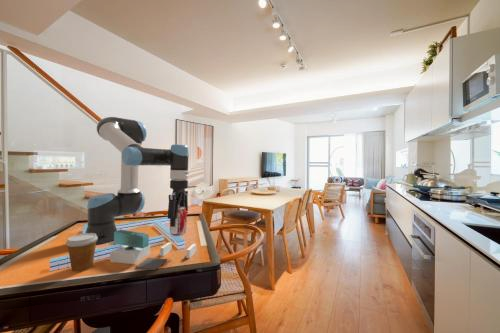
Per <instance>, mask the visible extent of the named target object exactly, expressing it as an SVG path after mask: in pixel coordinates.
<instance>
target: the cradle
mask: <svg viewBox="0 0 500 333" xmlns="http://www.w3.org/2000/svg"><path fill="white" fill-rule="evenodd" d="M172 245H173V244H172V242H171V241H170V242H167V243H165V244H164V245H162V246H161V247H160V248H159V250H160V251H159V253H160V254H159V255H160V256H159V257H165V256H166V255H167V254H168V253H169V252H171V251H172V248H173V247H172ZM185 250H186V251H185V252H186V253H185V255H186V259H191V258H192V257H193V255H195V253H196V252H197V244H196V243H192V244H191V245H190V246H189V247H188V248H187V249H185Z"/></svg>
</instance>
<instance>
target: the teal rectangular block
mask: <svg viewBox="0 0 500 333" xmlns="http://www.w3.org/2000/svg"><path fill="white" fill-rule="evenodd" d="M149 234H150V233H144V232H137V231H133V230H131V231H130V230H124V229H119V230H118V229H117V231H115V232H114V240H113V243H114V244H116V245H121V246H123V245H126V246H128V248H133V247H137V248H142V249H143V248H145V247H147V246H149V245H150V244H149V243H150V242H149V239H150V238H149V236H150V235H149Z"/></svg>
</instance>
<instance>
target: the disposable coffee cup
mask: <svg viewBox="0 0 500 333" xmlns="http://www.w3.org/2000/svg"><path fill="white" fill-rule="evenodd" d="M97 239H98V237H97V235H96V234H95V233H85V232H84V233H80V234H75V235H73V236H69V237H68V238H67V241H65V244H66V246H67V249H68V250H67V251H68V256H69V261H70V268H71V271H72V272H73V273H74V272H75V273H79V272H84V271H87V270H90V269H91V268H92V267H93V265H94V258H95V252H96V245H97V244H96V241H97Z"/></svg>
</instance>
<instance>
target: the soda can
mask: <svg viewBox="0 0 500 333" xmlns="http://www.w3.org/2000/svg"><path fill="white" fill-rule="evenodd" d="M187 212H188V211H186V209H185V207H183V206H179V207H178V212H177V217H176V218H177V219H178V220H177V234H170V235H171V236H173V237H182V236H184V234H186V232H187V222H188V220H187V216H188V213H187ZM170 231H171V219H169V232H170Z"/></svg>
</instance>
